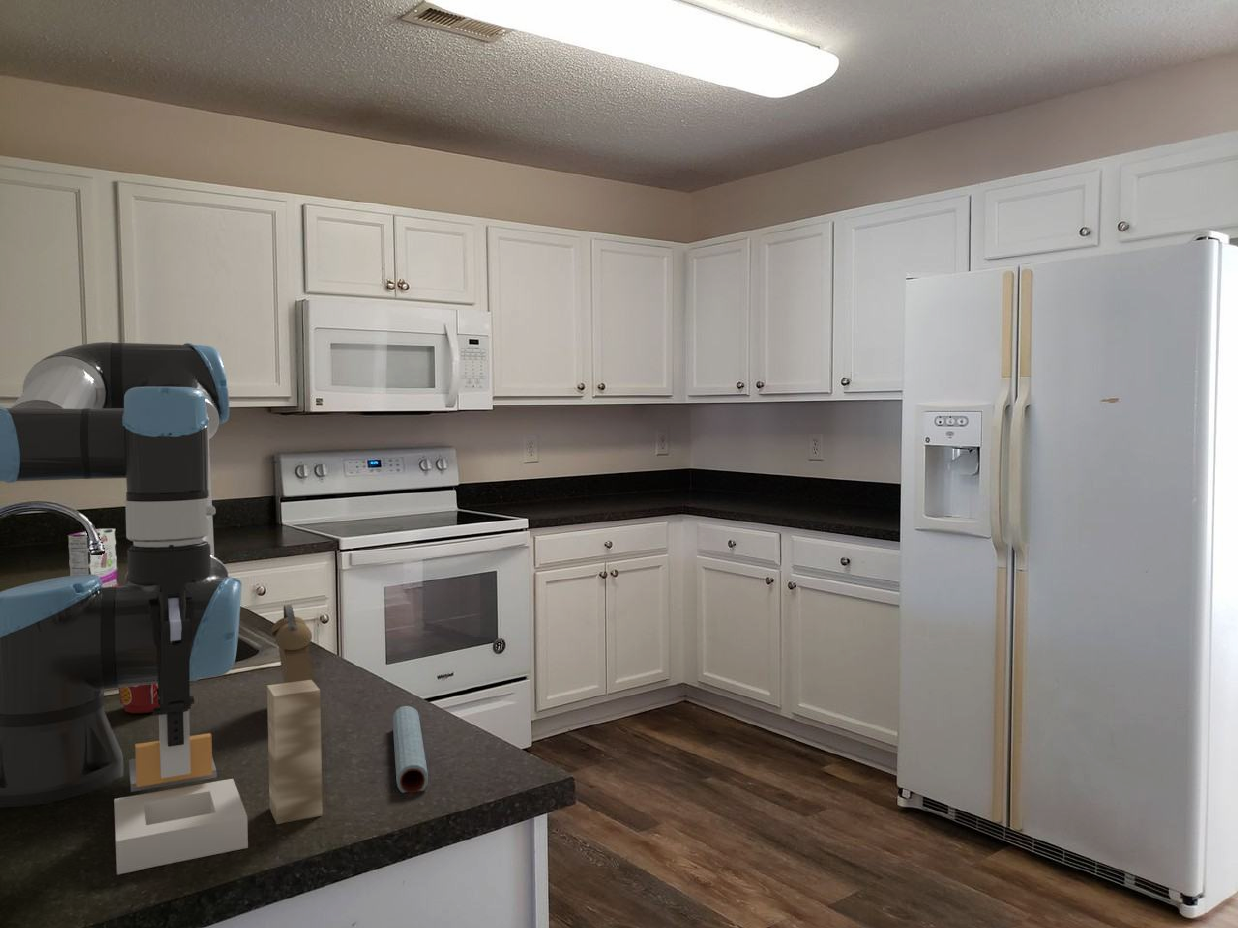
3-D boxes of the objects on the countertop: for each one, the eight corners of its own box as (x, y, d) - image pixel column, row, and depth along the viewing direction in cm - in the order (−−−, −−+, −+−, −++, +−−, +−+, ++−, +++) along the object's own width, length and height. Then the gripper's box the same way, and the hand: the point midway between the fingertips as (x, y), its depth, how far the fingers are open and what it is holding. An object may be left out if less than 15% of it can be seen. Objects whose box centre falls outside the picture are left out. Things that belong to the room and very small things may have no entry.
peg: (276, 824, 95) (273, 696, 95) (269, 808, 99) (266, 685, 99) (322, 814, 98) (320, 689, 97) (314, 799, 102) (311, 679, 101)
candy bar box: (97, 599, 219) (95, 528, 218) (119, 599, 219) (117, 528, 218) (69, 608, 208) (66, 534, 207) (91, 608, 208) (89, 533, 207)
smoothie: (189, 707, 135) (185, 567, 134) (127, 720, 129) (122, 574, 128) (165, 695, 141) (161, 561, 140) (104, 708, 135) (100, 568, 134)
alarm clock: (318, 719, 129) (315, 610, 128) (279, 724, 127) (277, 613, 126) (307, 698, 139) (305, 596, 138) (271, 702, 137) (269, 599, 136)
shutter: (131, 795, 95) (130, 748, 95) (128, 766, 103) (127, 723, 103) (217, 780, 99) (216, 735, 99) (208, 754, 107) (207, 711, 107)
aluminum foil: (392, 731, 125) (392, 706, 125) (444, 727, 127) (443, 702, 127) (396, 797, 103) (396, 766, 103) (458, 791, 105) (458, 761, 105)
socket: (116, 874, 85) (115, 841, 85) (115, 828, 95) (114, 798, 94) (247, 847, 90) (247, 816, 90) (233, 806, 100) (233, 778, 100)
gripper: (216, 546, 91) (222, 788, 92) (203, 532, 103) (209, 747, 104) (128, 551, 88) (136, 803, 89) (125, 536, 99) (132, 760, 100)
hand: (175, 773), depth 96 cm, fingers closed
